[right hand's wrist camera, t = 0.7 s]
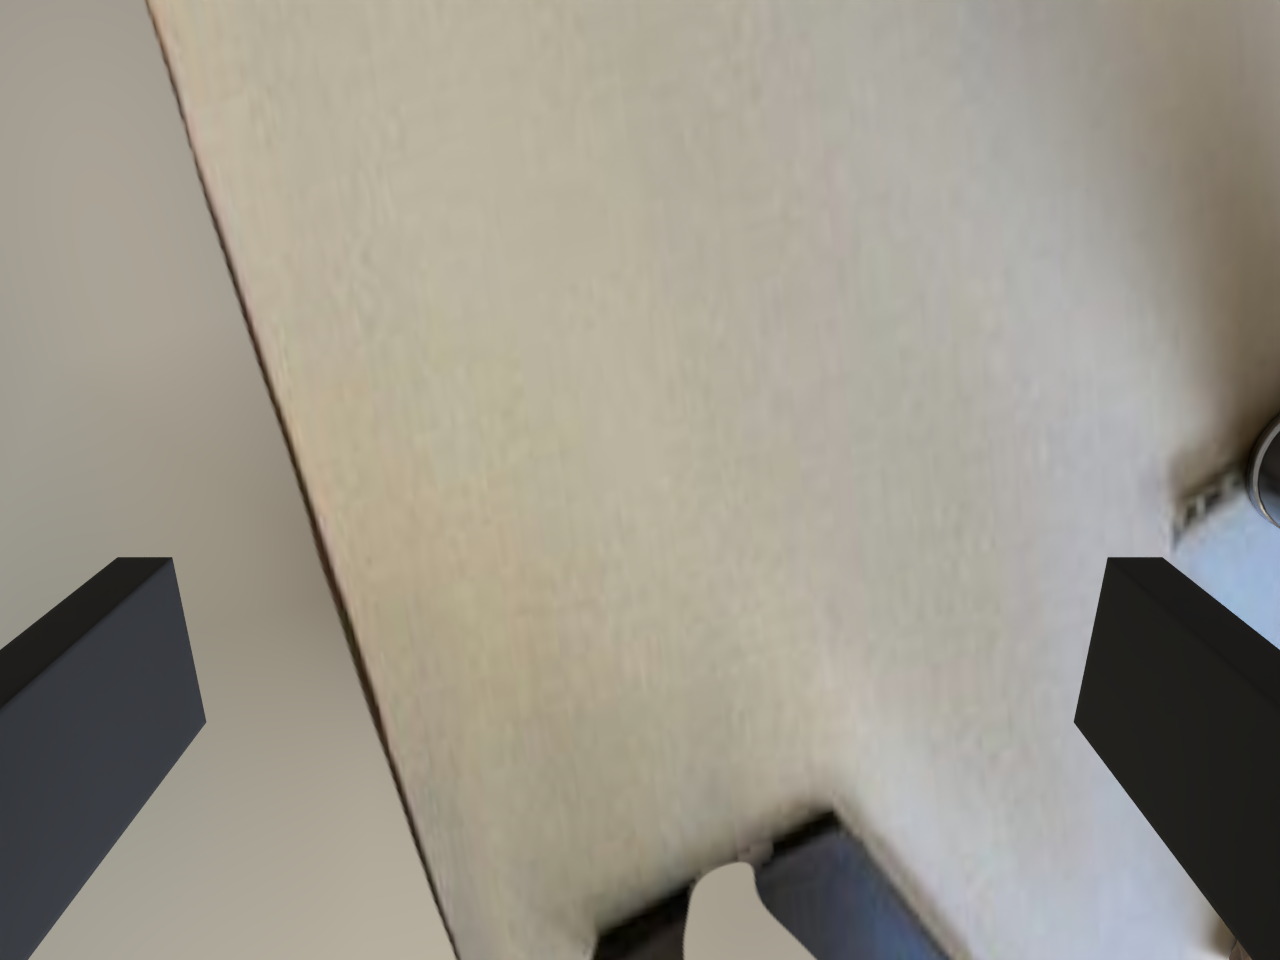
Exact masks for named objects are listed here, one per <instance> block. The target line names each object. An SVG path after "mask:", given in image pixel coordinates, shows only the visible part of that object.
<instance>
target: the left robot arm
mask: <svg viewBox="0 0 1280 960" xmlns="http://www.w3.org/2000/svg"><path fill="white" fill-rule="evenodd" d="M1246 481H1247V490H1248V494H1249V497H1250V500H1251V502H1252V504H1253V506H1254V507H1255V509H1256V510H1257V511H1258V513H1259V514H1260V515H1261V516H1262V517H1263V518H1264V519H1266V520H1267V521H1268V522H1270V523H1271V524H1273V525H1275V526H1276V527H1278V528H1280V415H1278V416H1277V417H1276V418H1275V419H1274V420H1273V421H1272V422H1271V423H1270V424H1269V425H1268V427H1267V428H1266V429H1265V430H1264V432H1263V433H1262V435H1261V436H1260V438H1259V439H1258V441H1257V443H1256V444H1255V446H1254V449H1253V451H1252V453H1251V456H1250V459H1249V463H1248V467H1247V478H1246Z"/></svg>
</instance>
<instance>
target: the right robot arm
mask: <svg viewBox="0 0 1280 960" xmlns="http://www.w3.org/2000/svg"><path fill="white" fill-rule="evenodd" d="M205 723H206V719H205V714H204V709H203V704H202V699H201V695H200V690H199V685H198V680H197V675H196V670H195V665H194V661H193V656H192V651H191V646H190V641H189V636H188V631H187V627H186V622H185V617H184V612H183V607H182V603H181V598H180V593H179V588H178V583H177V578H176V573H175V569H174V564H173V559H172V557H118V558H116V559H115V560H114V561H112V562H111V563H110V564H109V565H107V566H106V567H105V568H104V569H102V570H101V571H100V572H98V573H97V574H96V575H95V576H93V577H92V578H91V579H90V580H88V581H87V582H86V583H85V584H83V585H82V586H81V587H80V588H78V589H77V590H76V591H74V592H73V593H72V594H71V595H69V596H68V597H67V598H66V599H64V600H63V601H62V602H61V603H59V604H58V605H57V606H55V607H54V608H53V609H52V610H50V611H49V612H48V613H47V614H45V615H44V616H43V617H42V618H40V619H39V620H38V621H36V622H35V623H34V624H33V625H31V626H30V627H29V628H28V629H26V630H25V631H24V632H23V633H21V634H20V635H19V636H17V637H16V638H15V639H14V640H12V641H11V642H10V643H9V644H7V645H6V646H5V647H3V648H2V649H1V650H0V960H28V959H29V957H30V956H31V955H32V953H33V952H34V951H35V949H36V948H37V947H38V945H39V944H40V943H41V941H42V940H43V939H44V937H45V936H46V935H47V933H48V932H49V931H50V929H51V928H52V927H53V925H54V924H55V923H56V921H57V920H58V919H59V917H60V916H61V915H62V913H63V912H64V911H65V909H66V908H67V907H68V905H69V904H70V903H71V901H72V900H73V899H74V898H75V896H76V895H77V894H78V892H79V891H80V890H81V888H82V887H83V885H84V884H85V883H86V882H87V880H88V879H89V878H90V876H91V875H92V874H93V872H94V871H95V870H96V868H97V867H98V866H99V864H100V863H101V862H102V860H103V859H104V858H105V856H106V855H107V854H108V852H109V851H110V850H111V848H112V847H113V846H114V844H115V843H116V842H117V840H118V839H119V838H120V836H121V835H122V834H123V832H124V831H125V830H126V828H127V827H128V826H129V824H130V823H131V822H132V820H133V819H134V818H135V816H136V815H137V814H138V812H139V811H140V810H141V808H142V807H143V806H144V804H145V803H146V802H147V800H148V799H149V798H150V796H151V795H152V794H153V792H154V791H155V790H156V788H157V787H158V786H159V784H160V783H161V782H162V780H163V779H164V778H165V776H166V775H167V774H168V772H169V771H170V770H171V768H172V767H173V766H174V764H175V763H176V762H177V760H178V759H179V758H180V756H181V755H182V754H183V752H184V751H185V750H186V748H187V747H188V746H189V744H190V743H191V742H192V740H193V739H194V738H195V736H196V735H197V734H198V732H199V731H200V730H201V728H202V727H203V726H204V725H205ZM1074 723H1075V725H1076V726H1077V727H1078V728H1079V730H1080V731H1081V732H1082V734H1083V735H1084V736H1085V738H1086V739H1087V740H1088V742H1089V743H1090V744H1091V746H1092V747H1093V748H1094V750H1095V751H1096V752H1097V754H1098V755H1099V756H1100V758H1101V759H1102V760H1103V762H1104V763H1105V764H1106V766H1107V767H1108V768H1109V770H1110V771H1111V772H1112V774H1113V775H1114V776H1115V778H1116V779H1117V780H1118V782H1119V783H1120V784H1121V786H1122V787H1123V788H1124V790H1125V791H1126V792H1127V794H1128V795H1129V796H1130V798H1131V799H1132V800H1133V802H1134V803H1135V804H1136V806H1137V807H1138V808H1139V810H1140V811H1141V812H1142V814H1143V815H1144V816H1145V818H1146V819H1147V820H1148V822H1149V823H1150V824H1151V826H1152V827H1153V828H1154V830H1155V831H1156V832H1157V834H1158V835H1159V836H1160V838H1161V839H1162V840H1163V842H1164V843H1165V844H1166V846H1167V847H1168V848H1169V850H1170V851H1171V852H1172V854H1173V855H1174V856H1175V858H1176V859H1177V860H1178V862H1179V863H1180V864H1181V866H1182V867H1183V868H1184V870H1185V871H1186V872H1187V874H1188V875H1189V876H1190V878H1191V879H1192V880H1193V882H1194V883H1195V884H1196V886H1197V887H1198V888H1199V890H1200V891H1201V892H1202V894H1203V895H1204V896H1205V898H1206V899H1207V900H1208V901H1209V903H1210V904H1211V905H1212V907H1213V908H1214V909H1215V911H1216V912H1217V913H1218V915H1219V916H1220V917H1221V919H1222V920H1223V921H1224V923H1225V924H1226V925H1227V927H1228V928H1229V929H1230V931H1231V932H1232V933H1233V935H1234V936H1235V937H1236V939H1237V940H1238V941H1239V943H1240V944H1241V945H1242V947H1243V948H1244V949H1245V951H1246V952H1247V953H1248V955H1249V956H1250V957H1251V959H1252V960H1280V650H1279V649H1278V648H1277V647H1275V646H1274V645H1273V644H1271V643H1270V642H1269V641H1268V640H1266V639H1265V638H1264V637H1263V636H1261V635H1260V634H1259V633H1258V632H1256V631H1255V630H1254V629H1252V628H1251V627H1250V626H1249V625H1247V624H1246V623H1245V622H1244V621H1242V620H1241V619H1240V618H1239V617H1237V616H1236V615H1235V614H1233V613H1232V612H1231V611H1230V610H1228V609H1227V608H1226V607H1225V606H1223V605H1222V604H1221V603H1220V602H1218V601H1217V600H1216V599H1214V598H1213V597H1212V596H1211V595H1209V594H1208V593H1207V592H1206V591H1204V590H1203V589H1202V588H1201V587H1199V586H1198V585H1197V584H1195V583H1194V582H1193V581H1192V580H1190V579H1189V578H1188V577H1187V576H1185V575H1184V574H1183V573H1182V572H1180V571H1179V570H1178V569H1176V568H1175V567H1174V566H1173V565H1171V564H1170V563H1169V562H1168V561H1166V560H1165V559H1164V558H1163V557H1108V559H1107V564H1106V569H1105V573H1104V578H1103V583H1102V588H1101V593H1100V598H1099V602H1098V607H1097V612H1096V617H1095V622H1094V627H1093V632H1092V636H1091V641H1090V646H1089V651H1088V656H1087V661H1086V665H1085V670H1084V675H1083V680H1082V685H1081V690H1080V694H1079V699H1078V704H1077V709H1076V714H1075V719H1074Z"/></svg>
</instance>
